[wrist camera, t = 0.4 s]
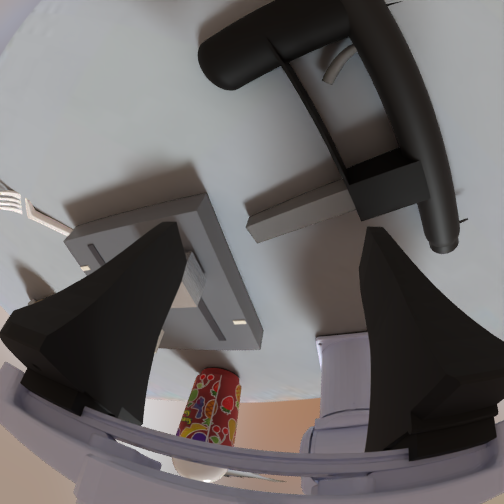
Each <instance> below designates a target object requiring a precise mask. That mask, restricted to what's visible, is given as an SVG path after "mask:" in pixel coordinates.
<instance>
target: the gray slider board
mask: <svg viewBox="0 0 504 504" xmlns="http://www.w3.org/2000/svg"><path fill="white" fill-rule="evenodd" d="M161 222H177V226H178V230H179V233H180V237H181V241H182V244H183V248H184V252H190V251H192V252H193V254H194V256H195V258H196V260H197V262H198V264H199V266H200V268H201V270H202V272H203V274H204V276H205V278H206V280H207V281H206V284H205V286H204V289H203V292H202V295H201V298H200V301H199V303H198V306H197V307H187V308H170V310H169V313H168V315H167V317H166V320H165V322H164V325H163V327H162V329H163V331H164V334H163V337H162V339H161V342H160V345H159V347H158V348H167V349H191V350H260V349H261V343H262V337H263V328H262V326H261V324H260V321H259V319H258V317H257V314H256V312H255V310H254V307H253V305H252V302H251V300H250V298H249V295H248V293H247V291H246V288H245V286H244V283H243V281H242V279H241V276H240V274H239V271H238V269H237V267H236V264H235V262H234V259H233V257H232V254H231V252H230V249H229V247H228V245H227V242H226V240H225V237H224V235H223V232H222V230H221V227H220V225H219V222H218V220H217V217H216V215H215V213H214V210H213V208H212V205H211V203H210V200H209V197H208V195H207V193H204V194H199V195H195V196H190V197H186V198H181V199H177V200H173V201H169V202H164V203H160V204H156V205H152V206H148V207H144V208H140V209H136V210H132V211H129V212H125V213H121V214H117V215H114V216H110V217H106V218H103V219H99V220H96V221H92V222H89V223H85V224H82V225H79V226H76V227H75V229H74V230H73V231H72V232H71V233H70V234H69V235H68V237H67V238H66V239H65V240H64V241H63V242H64V243H65V245H66V246H67V248H68V249H69V251H70V252H71V254H72V255H73V257H74V258H75V260H76V261H77V262H78V264H79V265H80V267H81V269H82V270H83V271H84V272H85V274H86V275H87V276H88V275H89V274H91V273H93V272H94V271H96V270H97V269H99V268H100V267H102V266H103V265H104V264H106V263H107V262H108V261H110V260H111V259H113V258H114V257H115V256H117V255H118V254H119V253H121V252H122V251H123V250H125V249H126V248H127V247H129V246H130V245H131V244H132V243H134V242H135V241H136V240H138V239H139V238H140V237H142V236H143V235H144V234H146V233H147V232H148V231H150V230H151V229H152V228H154V227H155V226H157V225H158V224H160V223H161Z"/></svg>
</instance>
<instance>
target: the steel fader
mask: <svg viewBox="0 0 504 504" xmlns="http://www.w3.org/2000/svg"><path fill="white" fill-rule="evenodd" d="M185 255H186V259H187V264H186V268H185V271H184V275H183V278H182V282H181V285H180V287H179V289H178V292H177V294H176V296H175V299H174V301H173V303H172V306H171V308H187V307H197V306H198V303H199V301H200V298H201V295H202V292H203V289H204V286H205V284H206V281H207V280H206V278H205V276H204V274H203V272H202V270H201V268H200V266H199V264H198V262H197V260H196V258H195V256H194V254H193V252H192V251H190V252H185Z"/></svg>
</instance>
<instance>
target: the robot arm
mask: <svg viewBox="0 0 504 504" xmlns="http://www.w3.org/2000/svg"><path fill="white" fill-rule="evenodd" d="M186 264H187V259H186V255H185V252H184V248H183V244H182V241H181V237H180V233H179V230H178V226H177V222H161V223H160V224H158V225H157V226H155V227H154V228H152V229H151V230H150V231H148V232H147V233H146V234H144V235H143V236H142V237H140V238H139V239H138V240H136V241H135V242H134V243H132V244H131V245H130V246H129V247H127V248H126V249H125V250H123V251H122V252H121V253H119V254H118V255H117V256H115V257H114V258H113V259H111V260H110V261H108V262H107V263H106V264H104V265H103V266H102V267H100V268H99V269H97V270H96V271H94V272H93V273H91V274H89V275H88V276H86V277H85V278H83V279H81V280H80V281H78V282H76V283H74V284H73V285H71V286H69V287H67V288H65V289H64V290H62V291H60V292H58V293H56V294H54V295H52V296H50V297H47V298H45V299H43V300H41V301H38V302H36V303H33V304H31V305H28V306H25V307H23V308H20V309H17V310H14V311H13V313H12V314H11V315H10V317H9V319H8V320H7V321H6V323H5V325H4V326H3V328H2V329H1V331H0V338H1V340H2V341H3V343H4V344H5V346H6V347H7V348H8V349H9V350H10V351H11V352H12V353H13V354H14V355H15V356H16V357H17V358H18V359H19V360H20V361H21V362H22V363H23V364H24V365H25V366H26V367H27V370H26V372H25V373H24V372H22V371H21V370H19V369H18V368H16V367H14V366H13V365H11V364H9V363H8V362H4V364H3V366H2V368H1V370H0V424H1V425H2V426H3V427H4V428H5V429H6V430H8V431H9V432H10V433H11V434H12V435H13V436H14V437H15V438H17V440H19V441H20V442H21V443H22V444H23V445H24V446H26V447H27V448H28V449H29V450H30V451H32V452H33V453H34V454H35V455H37V456H38V457H39V458H40V459H42V460H43V461H44V462H45V463H47V464H48V465H50V466H51V467H52V468H54V469H55V470H56V471H58V472H59V473H61V474H62V475H63V476H65V477H66V478H68V479H69V480H71V481H72V482H74V483H75V484H76V486H75V489H74V494H75V496H76V498H77V502H76V504H482V503H484V502H486V501H488V500H490V499H492V498H494V497H496V496H498V495H500V494H502V493H504V420H503V421H501V422H499V423H497V424H495V421H494V416H496V415H498V407H497V403H499V402H500V401H501V400H503V399H504V341H502V340H500V339H499V338H497V337H496V336H494V335H493V334H491V333H490V332H489V331H487V330H486V329H484V328H483V327H482V326H480V325H479V324H478V323H476V322H475V321H474V320H472V319H471V318H470V317H469V316H467V315H466V314H465V313H464V312H463V311H462V310H460V309H459V308H458V307H457V306H456V305H455V304H453V303H452V302H451V301H450V300H449V299H448V298H447V297H446V296H445V295H444V294H443V293H442V292H441V291H440V290H438V289H437V288H436V287H435V286H434V285H433V284H432V283H431V282H430V280H429V279H428V278H427V277H426V276H425V275H424V274H423V273H422V272H421V271H420V270H419V269H418V267H417V266H416V265H415V264H414V263H413V262H412V261H411V259H410V258H409V257H408V256H407V255H406V254H405V252H404V251H403V250H402V249H401V248H400V247H399V245H398V244H397V243H396V242H395V241H394V239H393V238H392V237H391V236H390V235H389V234H388V232H387V231H386V230H385V229H384V228H383V227H367V231H366V236H365V242H364V247H363V252H362V257H361V262H360V266H359V276H360V290H361V297H362V302H363V308H364V313H365V319H366V325H367V331H368V332H363V333H354V334H344V335H333V336H322V337H317V338H316V346H317V351H318V357H319V362H320V367H321V372H322V376H321V403H320V418H318V419H315V426H314V427H310V428H309V429H308V430H307V431H306V433H304V435H303V437H302V440H301V445H300V453H288V452H287V453H286V452H273V451H263V450H254V449H246V448H238V447H231V446H225V445H219V444H213V443H208V442H203V441H198V440H193V439H188V438H184V437H180V436H175V435H171V434H167V433H164V432H160V431H156V430H152V429H149V428H146V427H142V426H141V425H142V424H143V415H144V406H145V398H146V391H147V386H148V380H149V375H150V370H151V366H152V361H153V357H154V353H155V349H156V346H157V342H158V338H159V335H160V332H161V330H162V327H163V325H164V322H165V320H166V317H167V315H168V313H169V310H170V308H171V306H172V303H173V301H174V299H175V296H176V294H177V292H178V289H179V287H180V285H181V282H182V278H183V275H184V271H185V268H186ZM115 439H117V440H120V441H122V442H125V443H128V444H131V445H134V446H136V447H140V448H143V449H146V450H149V451H152V452H155V453H159V454H163V455H166V456H170V457H173V458H177V459H181V460H185V461H189V462H194V463H198V464H203V465H208V466H213V467H218V468H224V469H230V470H237V471H244V472H251V473H260V474H271V475H283V476H301V488H302V489H303V490H302V491H303V493H304V494H305V495H297V494H282V493H271V492H262V491H253V490H246V489H240V488H233V487H228V486H222V485H217V484H212V483H207V482H202V481H198V480H194V479H189V478H185V477H181V476H178V475H174V474H170V473H167V472H163V471H160V469H161V463H160V462H158V461H155V460H153V459H150V458H148V457H146V456H144V455H142V454H140V453H139V452H138V451H136V450H134V449H132V448H130V447H127V446H125V445H122V444H120V443H118V442H117V441H116V440H115ZM331 479H332V480H331Z"/></svg>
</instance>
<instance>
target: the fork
mask: <svg viewBox="0 0 504 504" xmlns="http://www.w3.org/2000/svg"><path fill="white" fill-rule="evenodd" d="M0 195H9V196H13V197H0V200H8V201H13V202H0V205H10V206H0V209H3V210H9V211H13V212H17V213H20V214H22V210H20V209H18V208H17V207H19V208H22V206H21V205H19V204H17V203H15V202H18V203H20V204H21V201H20V200H18V199H16V198H19V199H21V195H20V194H19V193H17V192H15V191H0ZM14 197H16V198H14ZM25 202H26V210H27V216H28V218H29V219H32V220H34V221H36V222H39V223H41V224H43V225H45V226H47V227H49V228H51V229H53V230H55V231H57V232H60V233H62V234H64V235H66V236H68V235H69V234H70V233H71V232H72V231H73V230H72V229H70V228H69V227H67V226H65V225H63V224H61V223H60V222H58V221H56V220H54V219H52V218H50V217H48V216H45V215H43V214H42V213H40V212H38V211H36V210H35V209H34V207H33V205H32V203H31V202H30V201H29V200H28V199H27V198H25ZM12 206H15V207H12Z"/></svg>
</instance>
